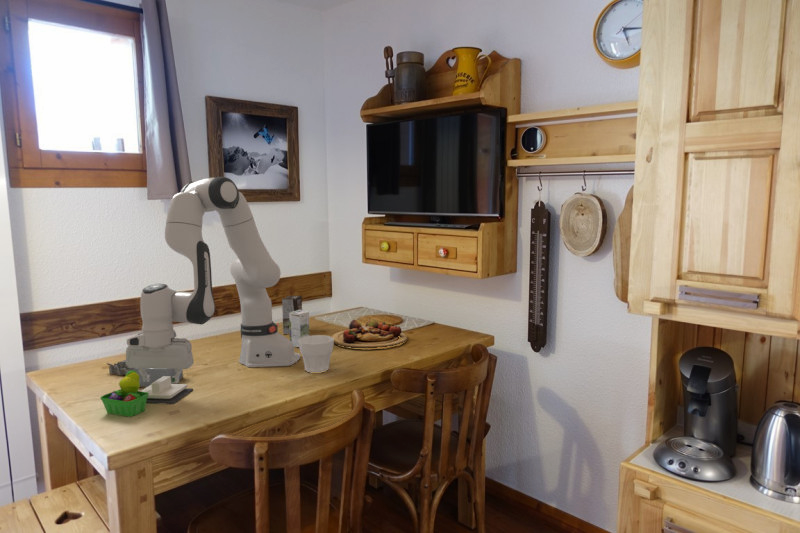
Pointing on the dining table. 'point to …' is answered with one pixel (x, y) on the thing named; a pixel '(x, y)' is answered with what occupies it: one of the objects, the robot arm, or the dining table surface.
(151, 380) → the crate
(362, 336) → the wooden plate with food
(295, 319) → the syrup box
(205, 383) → the dining table surface
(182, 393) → the mat
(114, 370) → the egg carton
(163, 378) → the lid
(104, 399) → the fruit basket
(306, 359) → the cup
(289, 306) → the coffee box
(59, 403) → the dining table surface
